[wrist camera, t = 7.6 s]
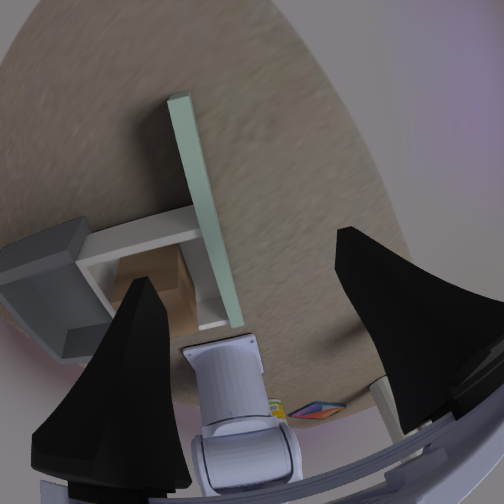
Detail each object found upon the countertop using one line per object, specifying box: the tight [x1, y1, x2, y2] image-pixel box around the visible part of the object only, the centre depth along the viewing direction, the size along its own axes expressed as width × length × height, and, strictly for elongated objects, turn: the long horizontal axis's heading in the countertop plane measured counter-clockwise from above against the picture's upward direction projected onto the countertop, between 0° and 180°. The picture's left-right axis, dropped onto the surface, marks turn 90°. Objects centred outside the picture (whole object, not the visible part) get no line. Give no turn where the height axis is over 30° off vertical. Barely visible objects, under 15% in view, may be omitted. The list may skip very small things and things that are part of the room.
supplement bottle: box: [268, 399, 288, 425], centre depth 40 cm, size 5×5×10 cm
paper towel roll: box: [369, 376, 427, 464], centre depth 44 cm, size 7×6×21 cm
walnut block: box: [110, 243, 199, 338], centre depth 19 cm, size 4×4×4 cm
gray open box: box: [0, 216, 113, 365], centre depth 19 cm, size 12×10×4 cm
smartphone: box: [289, 401, 346, 419], centre depth 54 cm, size 7×15×1 cm, turn 45°
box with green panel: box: [75, 90, 244, 330], centre depth 17 cm, size 17×10×4 cm, turn 8°
